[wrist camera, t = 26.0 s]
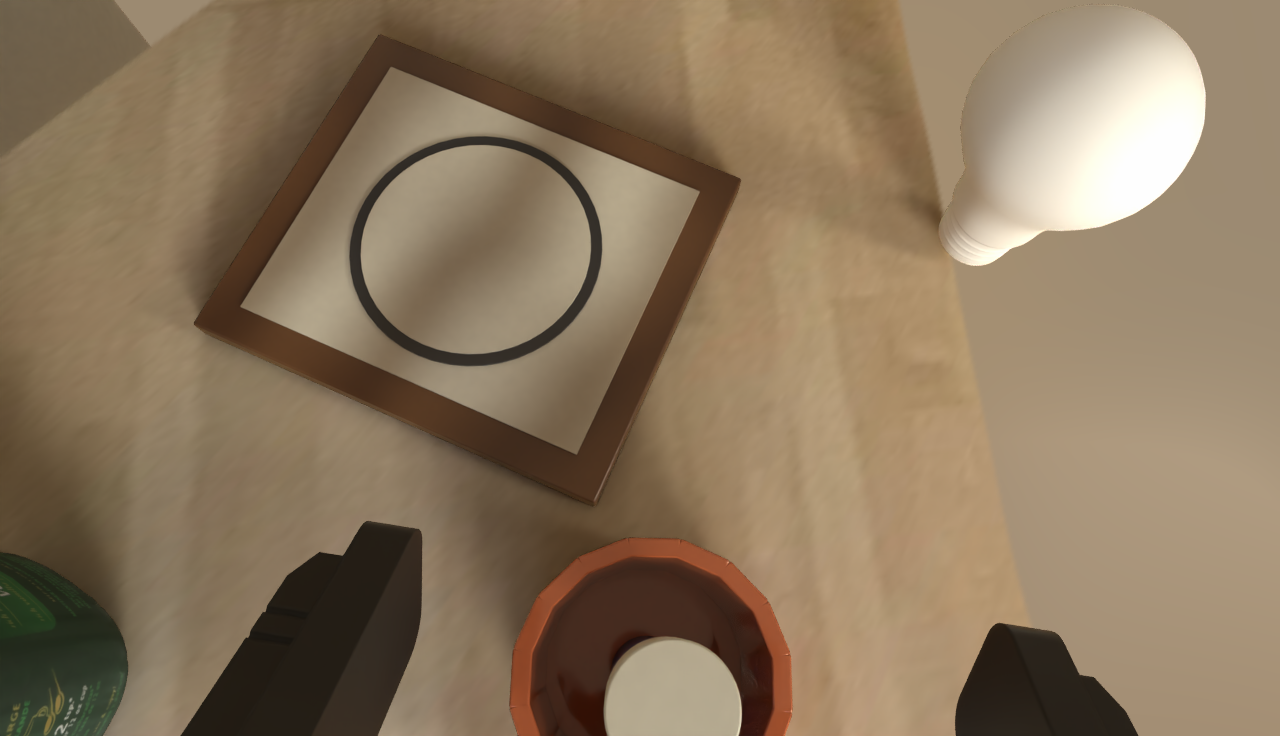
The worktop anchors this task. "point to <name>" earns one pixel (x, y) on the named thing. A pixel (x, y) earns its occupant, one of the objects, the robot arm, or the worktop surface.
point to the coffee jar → (55, 655)
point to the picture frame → (476, 265)
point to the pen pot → (644, 634)
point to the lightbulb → (1072, 128)
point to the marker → (670, 691)
